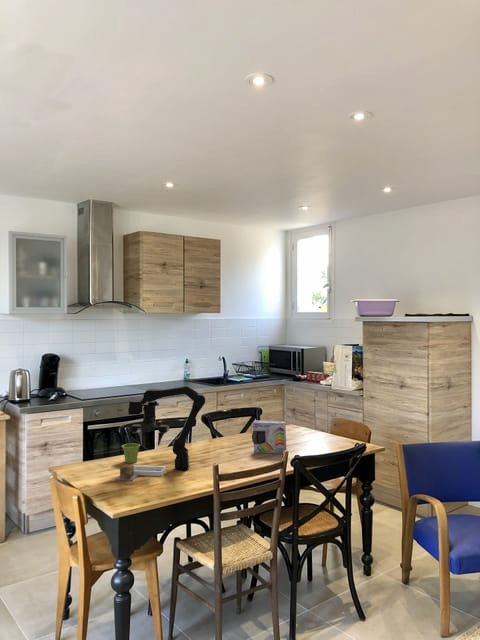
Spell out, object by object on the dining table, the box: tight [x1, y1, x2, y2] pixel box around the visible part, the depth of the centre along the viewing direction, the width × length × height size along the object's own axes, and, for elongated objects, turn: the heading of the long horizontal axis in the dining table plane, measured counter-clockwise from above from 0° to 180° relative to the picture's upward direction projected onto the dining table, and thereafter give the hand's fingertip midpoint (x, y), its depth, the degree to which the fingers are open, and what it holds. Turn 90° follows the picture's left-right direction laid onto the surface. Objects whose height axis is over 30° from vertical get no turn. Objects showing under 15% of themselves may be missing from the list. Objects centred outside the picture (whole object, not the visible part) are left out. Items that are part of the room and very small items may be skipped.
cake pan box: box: [251, 419, 287, 455], centre depth 293 cm, size 19×5×18 cm, turn 73°
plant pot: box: [121, 442, 140, 464], centre depth 275 cm, size 9×9×9 cm
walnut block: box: [119, 464, 135, 479], centre depth 246 cm, size 5×5×5 cm
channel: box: [134, 465, 167, 477], centre depth 255 cm, size 17×9×2 cm, turn 84°
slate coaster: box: [115, 474, 139, 482], centre depth 246 cm, size 8×8×1 cm
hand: (149, 445), depth 260 cm, fingers open, 9 cm apart
